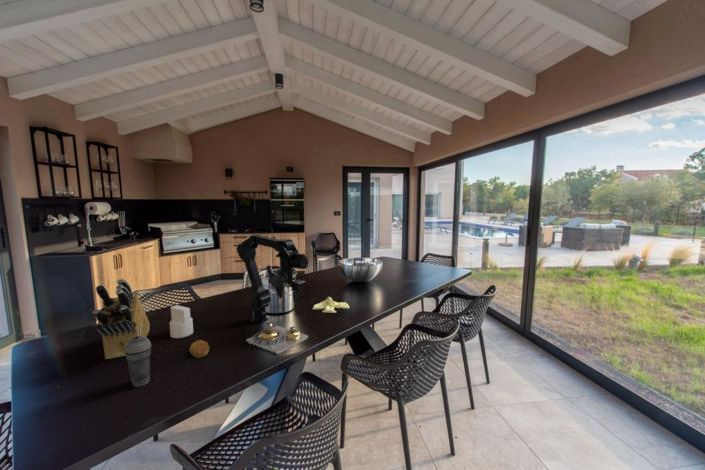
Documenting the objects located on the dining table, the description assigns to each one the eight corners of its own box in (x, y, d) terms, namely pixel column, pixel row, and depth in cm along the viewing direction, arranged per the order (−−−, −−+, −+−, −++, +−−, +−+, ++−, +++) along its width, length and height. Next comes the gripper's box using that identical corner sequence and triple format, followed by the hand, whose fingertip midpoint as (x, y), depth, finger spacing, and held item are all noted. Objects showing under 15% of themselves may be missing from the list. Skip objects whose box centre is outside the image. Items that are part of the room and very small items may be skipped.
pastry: (212, 355, 119) (211, 345, 119) (193, 361, 115) (192, 351, 115) (206, 346, 127) (206, 337, 126) (188, 351, 123) (187, 342, 122)
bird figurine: (354, 306, 174) (354, 295, 173) (333, 316, 159) (333, 304, 158) (325, 299, 187) (324, 289, 186) (302, 307, 172) (302, 297, 171)
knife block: (95, 373, 107) (86, 286, 103) (121, 334, 139) (114, 266, 135) (134, 366, 112) (127, 282, 108) (150, 329, 143) (145, 263, 140)
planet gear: (256, 338, 130) (256, 324, 130) (269, 332, 136) (269, 319, 135) (268, 342, 126) (267, 328, 126) (280, 336, 132) (280, 322, 131)
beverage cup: (136, 376, 105) (131, 319, 102) (159, 375, 105) (154, 319, 103) (122, 390, 97) (116, 329, 95) (146, 388, 98) (141, 328, 96)
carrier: (246, 342, 130) (246, 330, 129) (277, 328, 144) (277, 317, 143) (278, 354, 119) (277, 341, 118) (308, 338, 133) (307, 326, 132)
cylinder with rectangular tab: (197, 331, 141) (196, 305, 139) (179, 339, 133) (177, 312, 131) (184, 328, 145) (182, 303, 143) (165, 335, 136) (163, 309, 135)
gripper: (258, 268, 140) (260, 301, 142) (288, 273, 129) (289, 309, 131) (277, 263, 149) (278, 295, 151) (306, 268, 139) (307, 302, 140)
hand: (287, 300), depth 143 cm, fingers open, 9 cm apart
